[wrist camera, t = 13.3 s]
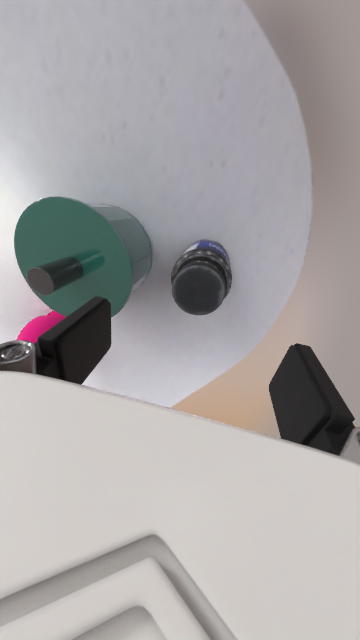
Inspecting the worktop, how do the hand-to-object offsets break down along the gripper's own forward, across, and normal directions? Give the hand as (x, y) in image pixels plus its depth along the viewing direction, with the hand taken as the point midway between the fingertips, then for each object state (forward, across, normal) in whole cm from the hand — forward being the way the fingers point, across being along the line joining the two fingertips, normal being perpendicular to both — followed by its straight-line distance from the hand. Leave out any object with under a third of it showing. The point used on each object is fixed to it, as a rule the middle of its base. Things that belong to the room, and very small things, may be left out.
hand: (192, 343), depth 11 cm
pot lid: (+10, +14, +2) cm, 17 cm away
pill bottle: (+19, +1, +1) cm, 19 cm away
